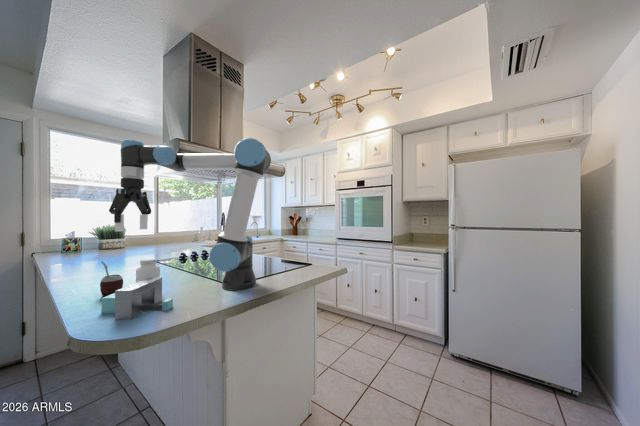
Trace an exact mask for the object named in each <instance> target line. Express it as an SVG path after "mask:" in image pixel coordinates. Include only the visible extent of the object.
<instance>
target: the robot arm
mask: <svg viewBox="0 0 640 426" xmlns="http://www.w3.org/2000/svg"><path fill="white" fill-rule="evenodd" d="M271 157H272V156H271V154H270V153H269V151H268V149H267V148H266V147H265V145H264V144H263V143H262V142H260V141H259V140H258V139H255V138H252V137H246V138H243V139H241V140H240V141H238V142H237V143H236V145H235V147H234V152H233V153H176V152H175V150H174V149H173V147H171V146H169V145H145V143H144V142H143V141H141V140H137V139H132V138H131V139H129V138H128V139H127V138H126V139H123V140H122V141H121V144H120V161H121V164H120V176H121V179H120V187H121V188H116V190H115V196H114V198H113V201H112V203H111V204H110V208H109V209H108V212H109V213H110V214H111V215H113V217H114V220H113V221H114V232H124V231H125V223H124V222H125V214H123V213H124V211H125V209H126V208H127V206H129V204H130V202H133V203H135V205H136V207H137V209H138V210H139V212H140V214H139V230H148V219H149V218H148V217H149V215H151V214H152V208H151V205H150V202H149V200H148V193H147V191H142V189H144V187H145V180H144V179H145V165H154V166H155V165H157V166H160V167H164V168H167V169H170V170H172V171H174V172H180V173H181V172H186V171H235V173H236V177H235V181H234V185H233V189H232V190H233V191H232V195H231V198H230V203H229V206H228V209H227V215H226V219H225V224H224V227H223V231H221V232H220V233H219V234H218V235H217V240H216V244H215V245H213V246H212V248H211V249H210V251H209V256H208V257H209V262H210V264H211V265H212V266H213V268H215V270H217V271H220V272H224V276H223V278H222V281H221V288H222V289H224V290H228V291H241V290H247V289H251V288H254V287H256V285H257V278H256V274H255V272H254V269H253V244H254V243H253V238H252V236H246V233H247V232H246V231H247V229H248V228H247V227H248V224H249V220H250V215H251V212H252V206H253V203H254V197H255V195H256V191H257V186H258V181H259V180H260V179H261V178H263V177H264V176H263V175H264V172H267V170H268V169H269V168H270V167H271V163H272V159H271Z"/></svg>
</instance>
